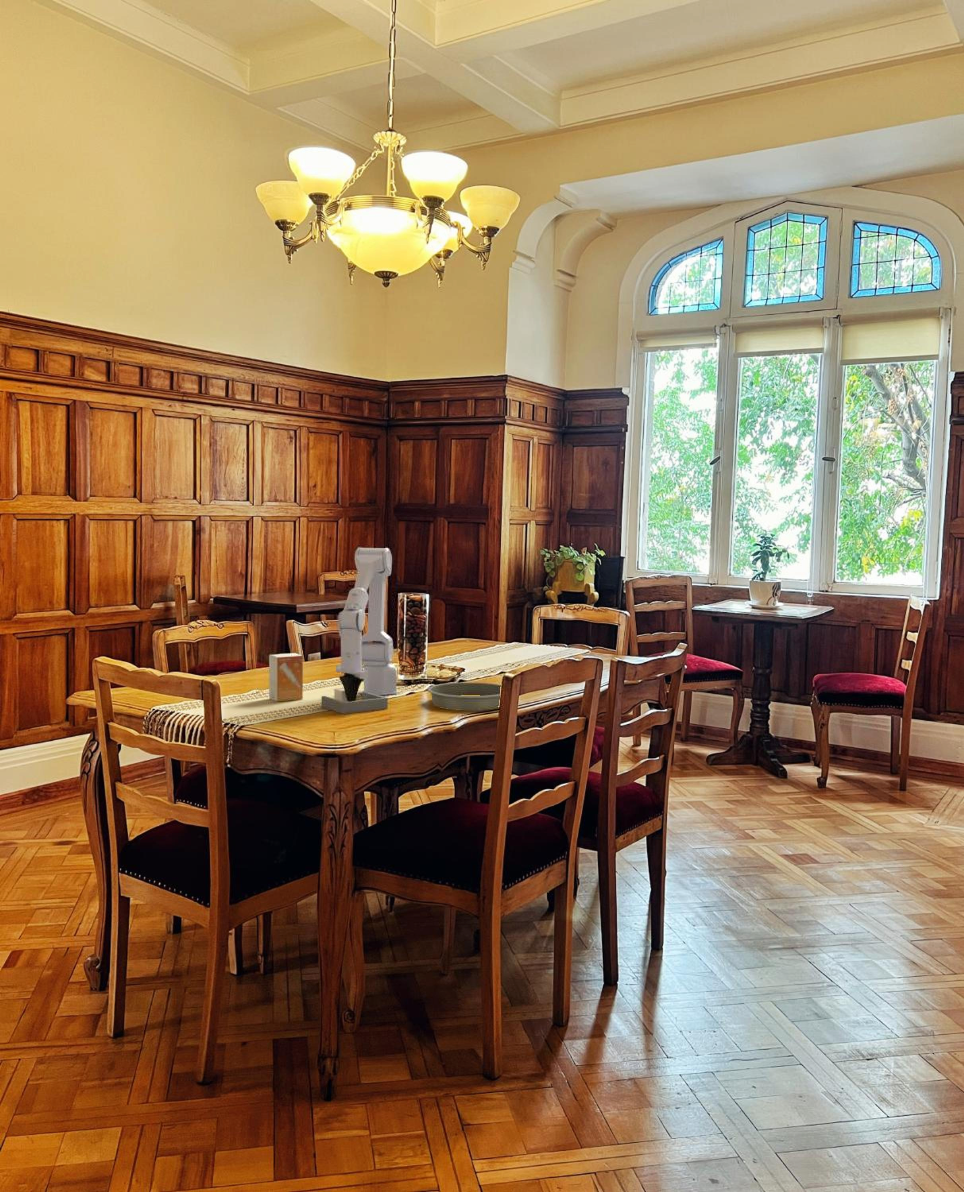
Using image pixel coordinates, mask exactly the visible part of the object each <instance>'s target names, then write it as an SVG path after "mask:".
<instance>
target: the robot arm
mask: <svg viewBox="0 0 964 1192" xmlns="http://www.w3.org/2000/svg"><path fill="white" fill-rule="evenodd" d="M391 552H392V551H391V550H390V548H388V547H385V548H384V547H383V548H379V547H375V548H374V547H361V546H360V547H357V549H356V550H355V553H354V563H355V568H356V570H357V572H356V578H355V583H354V588H351V589H350V590H349V592H348V595H347V599H346V600H345V604H344V608H343V610H342V611H340V612H339V613H338V616H337V621H336V622H337V627H338V636H339V637H340V664H339V665H335V673H340V674H344V675H341V676H339V678H338V679H339V680H340V682H341V685H342V686H343V687H342V688H344V690H345V694H346V698H347V701H349V702H351V701H357V698H358V697H357V696H358V693H359V694H361V695H362V692H369V693H372V694H376V695H379V696H386V695H394V694H396V695H397V694H398V693H399V692H398V691H397V670H396V667H395V665H394V664H393V663H391V662H392V661H393V660H394V655H395V654H394V653H395V652H394V651H395V649H394V641H393V638H392V637H391V636H390V635H389V634H387V632H385V606H386V605H385V604H386V581H387V578H388V577H389V576H391V574H392V565H393V557H392V556H393V555H392V553H391ZM367 604H368V612H367V615H368V617H367V632H366V633H365V634H363V635H362V633H363V632H362V631H363V630H364V628H365V625H366V624H365V623H366V612H365V611H366V607H367ZM362 666H363V668H362ZM362 682H363V690H359V689H360V686H361V684H362Z"/></svg>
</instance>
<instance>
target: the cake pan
mask: <svg viewBox="0 0 964 1192" xmlns="http://www.w3.org/2000/svg"><path fill="white" fill-rule="evenodd" d="M501 685H502V684H500V683H499V684H498V683H489V682H472V681H471V682H469V681H467V682H465V681H463V682H462V681H461V682H447V683H439V684H434V685H431V686H429V687H428V688H427V692H428V693H430V694H431V699H432V704H433V705H434V706H435V705H436V707H437V706H438V708H441V707H443V708H442V709H445V708H448V709H447V710H452V709H459V710H458V711H480V710H479V709H490V710H495V708H497V709H499V708H498V706H499V700H500V687H501ZM461 695H480V696H461Z"/></svg>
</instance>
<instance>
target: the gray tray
mask: <svg viewBox="0 0 964 1192" xmlns="http://www.w3.org/2000/svg"><path fill="white" fill-rule="evenodd" d="M388 703H389V701H388V697H385V696H384V695H376V694H372V693H369V692H362V694H361V700H356V701H351V702H342V701H339V700H336V699H334V698H332V697H329V696H326V695H322V696H321V708H324V709H327V710H330V711H333V712H335V713H338V714H341V715H346V714H354V713H355V714H357V713H362V712H363V713H365V712H373V711H380V710H387V709H389V708H388Z"/></svg>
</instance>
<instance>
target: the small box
mask: <svg viewBox="0 0 964 1192" xmlns="http://www.w3.org/2000/svg"><path fill="white" fill-rule="evenodd" d="M303 660H304V656H303V655H301V654H299V653H296V652H292V653H278V654H269V655H268V667H269V668H268V670H269V671H268V674H269V675H268V677H269V678H268V679H269V681H268V684H269V685H268V686H269V688H268V691H269V692H268V693H269V695H268V696H269V699H270V700H273V701H275V702H285V701H287V702H288V701H298V700H300V701H301V699H302V700H303V699H304V698H303V697H304V696H303V695H304V693H303V692H304V691H303V688H304V686H303V682H304V681H303V680H304V679H303V678H304V676H303V675H304V674H303V673H304V671H303V670H304V667H303V666H304V664H303V662H304V661H303Z"/></svg>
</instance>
